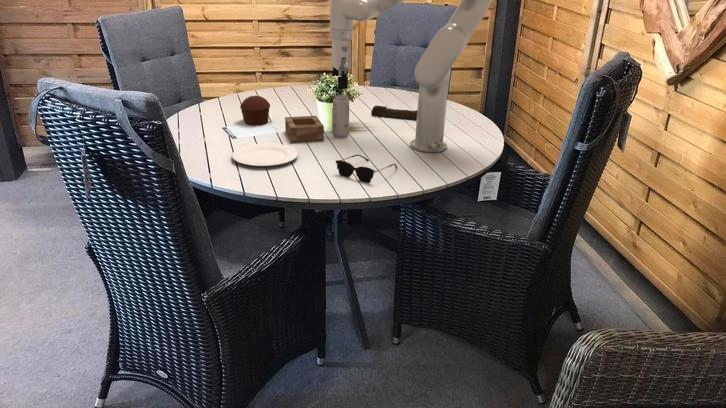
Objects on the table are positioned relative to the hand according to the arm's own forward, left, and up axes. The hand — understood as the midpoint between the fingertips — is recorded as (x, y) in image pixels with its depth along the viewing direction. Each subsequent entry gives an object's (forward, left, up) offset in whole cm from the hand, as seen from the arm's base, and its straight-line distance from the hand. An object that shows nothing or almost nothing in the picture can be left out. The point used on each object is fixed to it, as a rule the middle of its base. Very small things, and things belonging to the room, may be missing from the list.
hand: (339, 85), depth 188 cm
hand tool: (+18, -27, -19) cm, 38 cm away
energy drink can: (0, 0, -18) cm, 18 cm away
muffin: (+22, +28, -19) cm, 40 cm away
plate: (-18, +29, -19) cm, 39 cm away
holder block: (+1, +13, -18) cm, 22 cm away
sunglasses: (-36, -1, -19) cm, 41 cm away
